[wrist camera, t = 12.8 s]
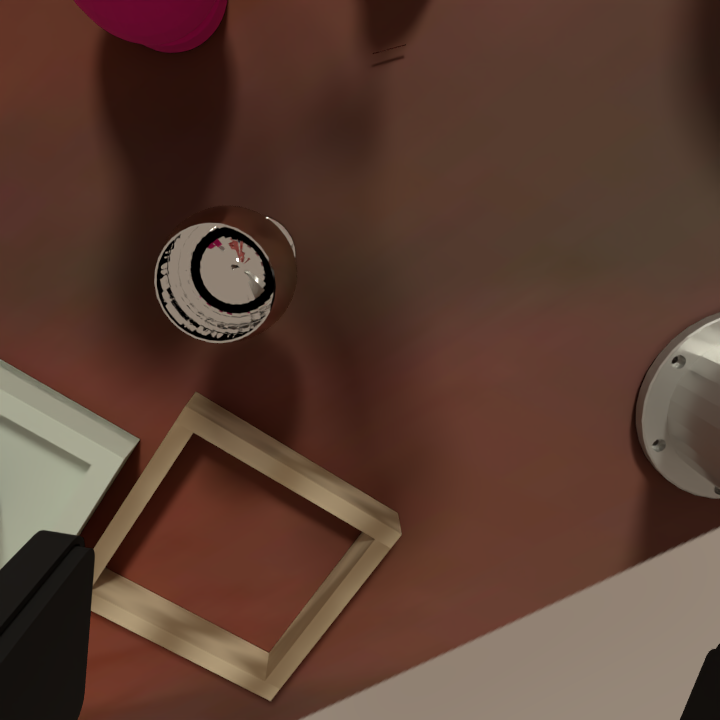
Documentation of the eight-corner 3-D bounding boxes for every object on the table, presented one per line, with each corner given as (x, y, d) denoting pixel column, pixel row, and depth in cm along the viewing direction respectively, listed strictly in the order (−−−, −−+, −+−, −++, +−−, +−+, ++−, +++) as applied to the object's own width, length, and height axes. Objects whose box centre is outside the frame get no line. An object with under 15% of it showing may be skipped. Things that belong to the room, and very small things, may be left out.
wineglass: (202, 294, 34) (133, 344, 23) (213, 194, 33) (145, 193, 21) (299, 310, 35) (279, 367, 23) (314, 212, 33) (301, 222, 22)
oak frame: (397, 513, 39) (401, 534, 36) (274, 672, 42) (270, 701, 40) (195, 391, 36) (185, 405, 34) (79, 571, 39) (62, 596, 37)
